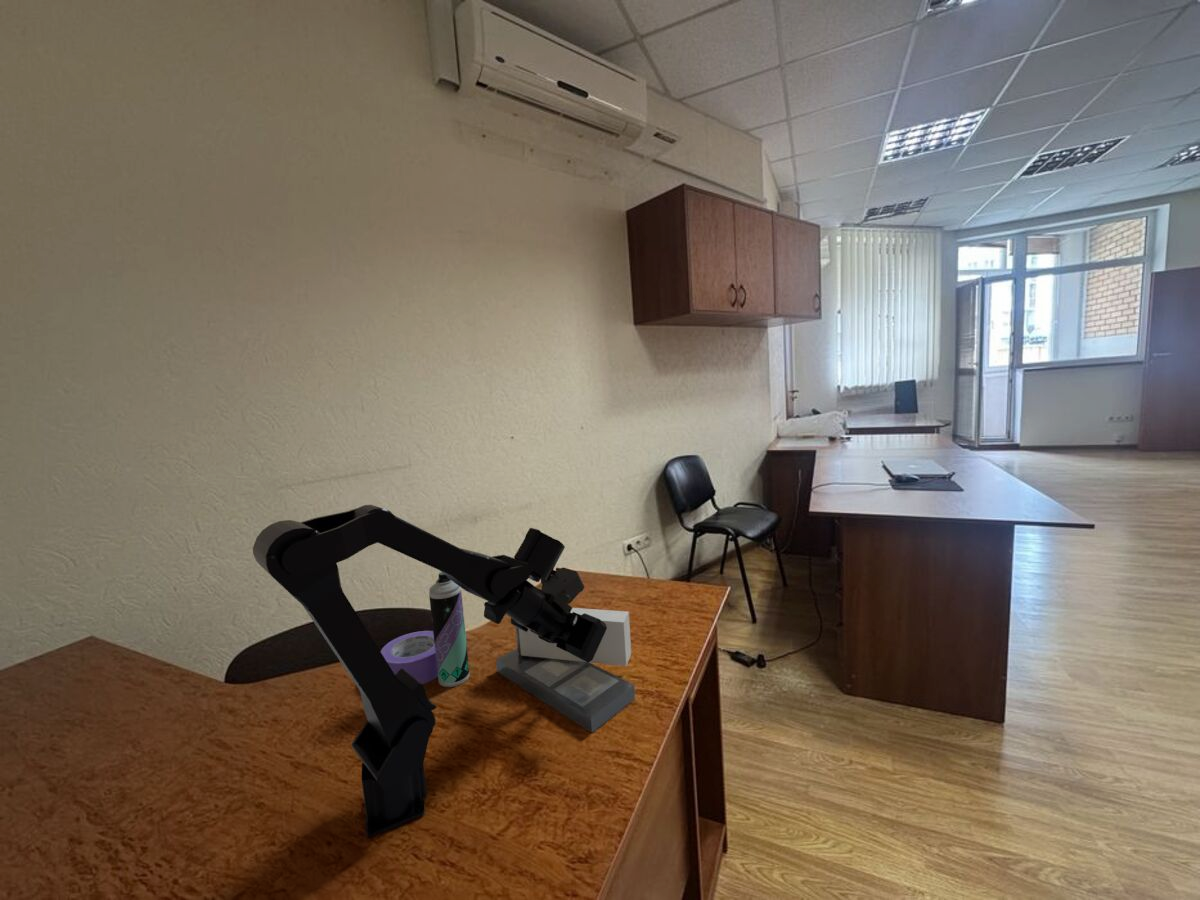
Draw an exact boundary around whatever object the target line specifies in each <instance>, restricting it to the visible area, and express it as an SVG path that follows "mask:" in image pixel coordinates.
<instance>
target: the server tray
mask: <svg viewBox="0 0 1200 900" xmlns="http://www.w3.org/2000/svg"><path fill="white" fill-rule="evenodd" d="M495 663H496V665H495V666H496V671H497V673H498V674H500V675H501V676H503V677H504V678H506V679H508V680H509V681H511V682H512V683H514V684H515V685H517V686H518V687H520V688H521V689H523V690H524V691H526V692H528V693H529V694H531V695H532V696H534V697H536V698H537V699H539V700H540V701H541V702H543V703H544V704H546V705H548V706H550V707H551V708H553V709H554V710H556V711H557V712H559V713H561V715H563V716H565V717H566V718H568V719H569V720H571V721H573V722H575V724H578V725H579V726H581V727H582V728H584V729H586V731H588V732H590V733H591V734H592V733H594V732H596V731H597V730H598V729H599V728H601V726H603V725H604V724H606V722H608V721H609V720H610V719H612V718H613V717H614V716H616V715H617V714H618V713H619V712H620V711H622V710H623V709H624V708H626V707H627V706H628V705H630V704H631V703H632V702H633V701H635V699H636V695H635V694H636V692H635V684H633V683H631V682H629V681H628V680H625V679H623V678H622V677H619V676H618V675H615V674H613V673H611V672H609V671H608V670H606V669H603V668H601V667H599V666H597V665H595V664H594V663H590V662H580V661H570V660H561V659H551V658H541V657H532V656H522V655H521V654H520V653H518V649H517V648H514V649H512V650H511V651H509V652H507V653H505V654H503V655H502V656H500V657H497V658H496V659H495Z"/></svg>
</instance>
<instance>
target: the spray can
mask: <svg viewBox="0 0 1200 900" xmlns="http://www.w3.org/2000/svg"><path fill="white" fill-rule="evenodd" d="M428 590H429V593H428V595H429V596H428V597H429V604H430V605H429V606H430V614H431V624H432V631H433V634H434V644H435V653H436V662H437V671H438V677H437V679H438V680H437V681H438V684H439V685H440V686H441V687H445V688H452V687H457V686H460V685H462V684H463V683H465V682H466V681H468V680H469V678H470V675H471V674H470V664H469V655H468V645H467V642H468V641H467V636H466V634H467V633H466V624H465V616H464V615H465V613H464V605H463V604H464V603H463V595H462V588H461V587H460V586H458V585H457V584H456V583H454V582H453V581H452V580H450V579H449V578H448V577H447V576H446V575H445V574H444V573H442V572H441V571H440V572H439V573H438V578H437V580H436V581H435V583H433V585H431V586H430V587H429V589H428Z"/></svg>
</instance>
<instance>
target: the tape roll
mask: <svg viewBox="0 0 1200 900" xmlns="http://www.w3.org/2000/svg"><path fill="white" fill-rule="evenodd" d="M380 652H381V653H382V655H383V657H384V658H385V660H386V661H387V663H388V665H389V666H390V668H391V669H392V671H393V673H394V674H395V675H396V673H397V672H398V671H399V670H400V669H401V668H403V669H404V670H405V671H407V672H408V673H409V674H410V675H411V676H412V677H414V678H415V679H416V680H417V681H418V682H420V683H421V684H422V685H424V684H427V683H429V682H431V681H433V680H435V679H437V678H438V671H437V662H436V653H435V644H434V634H433V630H423V631H422V630H421V631H415V632H410V633H406V634H403V635H400V636H398V637H396V638H394V639H392V640H391V641H389V642H387V643H386V644H385V645H384V646H383V647H382V648H381V650H380Z"/></svg>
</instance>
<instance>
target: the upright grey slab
mask: <svg viewBox="0 0 1200 900" xmlns="http://www.w3.org/2000/svg"><path fill="white" fill-rule="evenodd" d="M573 612H575V613H577V614H580V615H582V614H584V613H585V614H588V615H590V616H593V617H595V618H598V619H600V620H601V621H603V622H604V623H605V624H606V626H607V629H606V632H605V634H604V636H603V638H602V640H601V642H600V645H599V647H598V649H597V651H596V653H595V655H594V658H593V660H592V661H590V662H589V663H591V664H601V665H611V666H619V667H627V666H628V663H629V661H630V658H631V656H632V643H631V628H630V611H626V610H625V611H623V610H612V609H611V610H609V609H608V610H607V609H596V608H595V609H594V608H583V607H582V608H581V607H579V608H578V607H572V610H571V612H570V613H573ZM514 627H515V634H516V638H515V639H516V649H518V653H520V654H521V655H522V656H532V657H541V658H551V659H561V660H570V661H580V662H586V661H584V660H582V659H580V658H578V657H576V656H574V655H572V654H570V653H569V652H567V651H564V650H562V649H560V648H558V647H556V645H557V643H548V642H546V641H544V640H542V639H540V638H539V636H538V635H537V634H535V633H533V632H531V631H530V629H528V631H527V632H525V631H523V630H521V629H519V628H517V627H516V626H514ZM526 628H527V627H526Z"/></svg>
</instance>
